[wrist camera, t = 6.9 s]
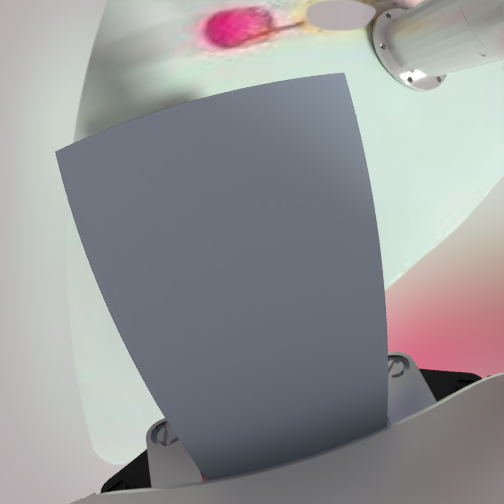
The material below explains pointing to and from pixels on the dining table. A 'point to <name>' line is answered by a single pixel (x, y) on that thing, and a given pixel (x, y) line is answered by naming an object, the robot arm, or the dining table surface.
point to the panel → (242, 268)
